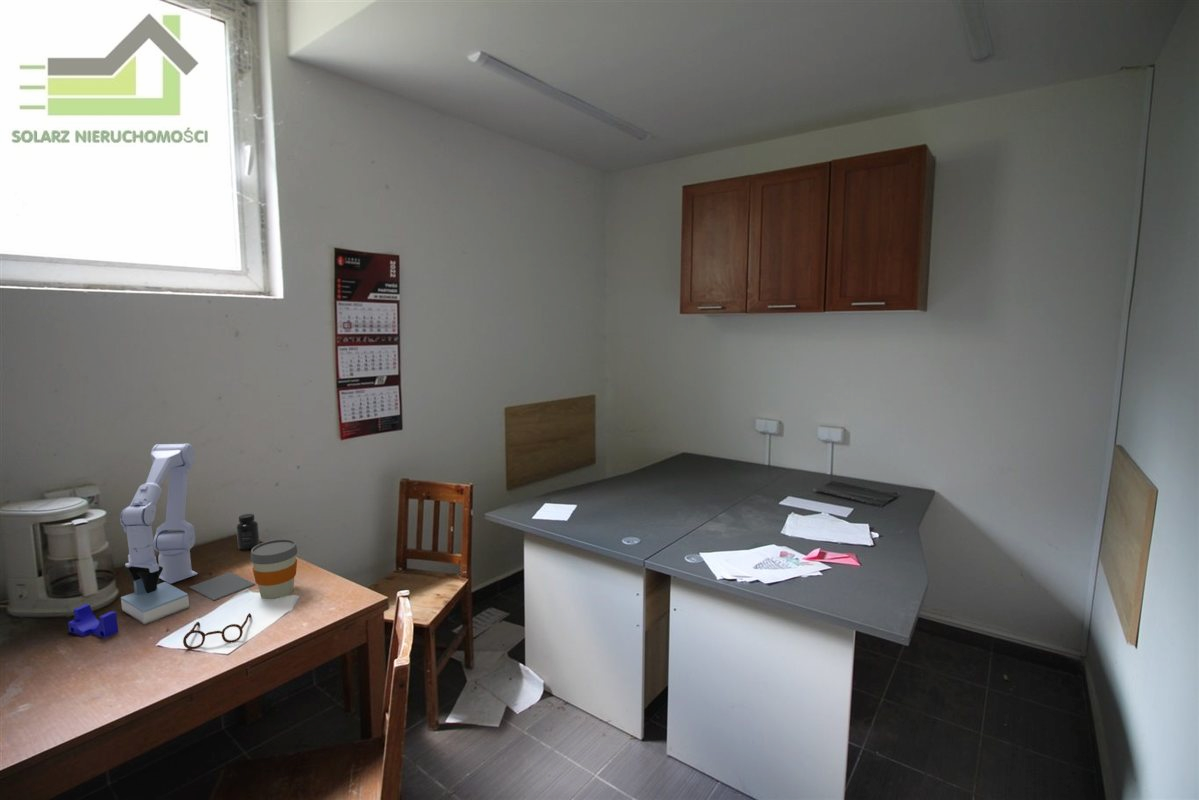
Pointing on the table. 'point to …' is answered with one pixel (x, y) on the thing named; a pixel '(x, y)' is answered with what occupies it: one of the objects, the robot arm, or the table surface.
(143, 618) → the tub
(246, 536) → the supplement bottle
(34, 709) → the table surface
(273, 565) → the reusable coffee cup
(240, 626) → the glasses
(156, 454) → the robot arm
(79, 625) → the cable clip
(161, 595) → the lid
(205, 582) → the mat
